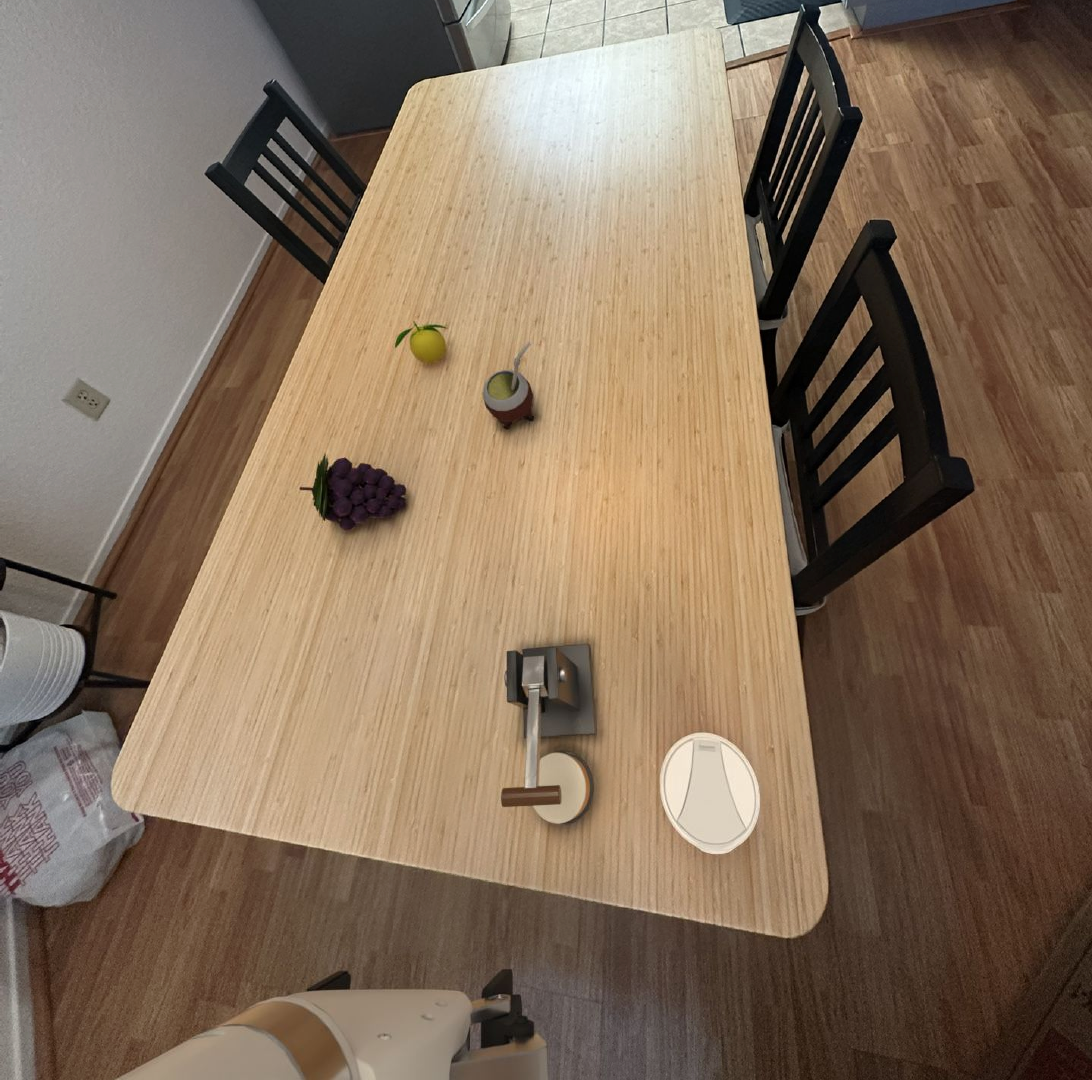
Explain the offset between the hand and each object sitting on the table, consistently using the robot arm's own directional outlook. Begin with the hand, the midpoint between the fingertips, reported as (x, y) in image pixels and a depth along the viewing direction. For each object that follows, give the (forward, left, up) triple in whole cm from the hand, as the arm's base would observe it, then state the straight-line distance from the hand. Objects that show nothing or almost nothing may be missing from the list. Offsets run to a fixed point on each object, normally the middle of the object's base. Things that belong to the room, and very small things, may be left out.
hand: (423, 1008), depth 34 cm
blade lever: (+14, -3, -19) cm, 23 cm away
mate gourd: (+56, +1, -32) cm, 65 cm away
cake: (+10, -3, -32) cm, 34 cm away
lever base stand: (+19, -3, -32) cm, 37 cm away
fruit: (+44, +24, -32) cm, 60 cm away
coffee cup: (+9, -18, -32) cm, 38 cm away
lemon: (+68, +15, -32) cm, 77 cm away
